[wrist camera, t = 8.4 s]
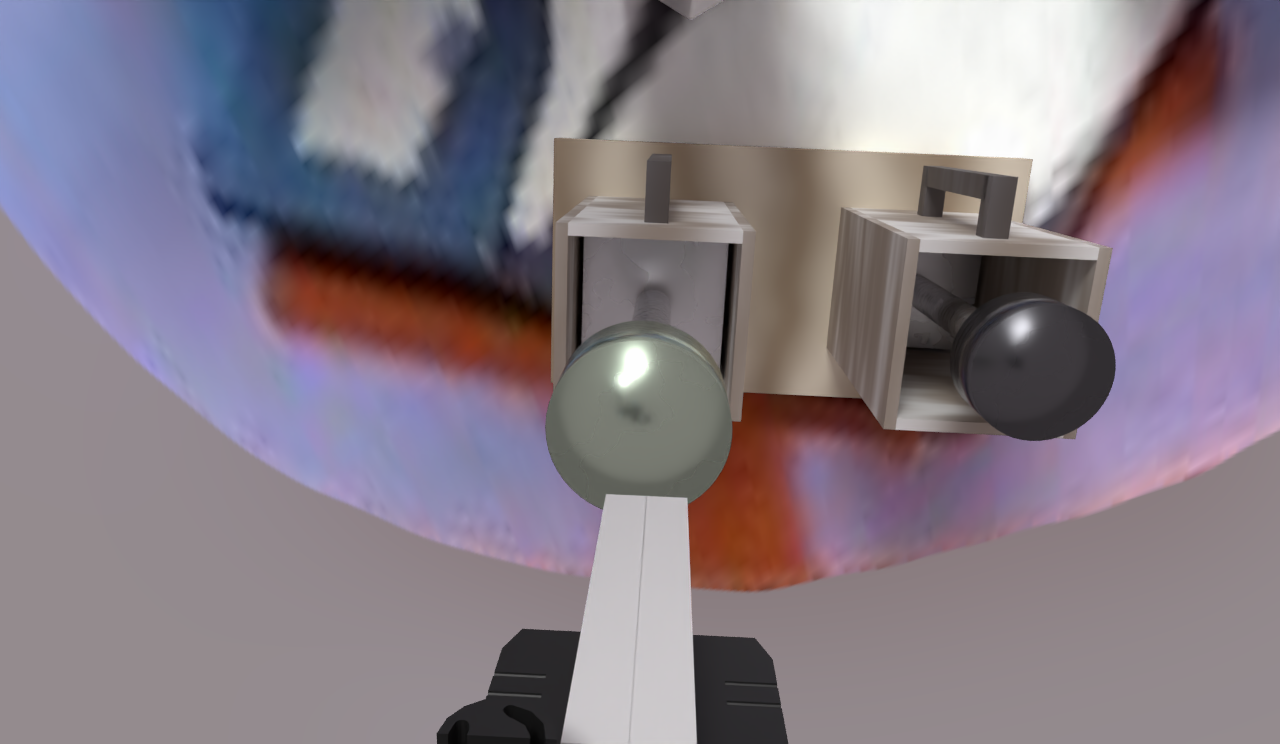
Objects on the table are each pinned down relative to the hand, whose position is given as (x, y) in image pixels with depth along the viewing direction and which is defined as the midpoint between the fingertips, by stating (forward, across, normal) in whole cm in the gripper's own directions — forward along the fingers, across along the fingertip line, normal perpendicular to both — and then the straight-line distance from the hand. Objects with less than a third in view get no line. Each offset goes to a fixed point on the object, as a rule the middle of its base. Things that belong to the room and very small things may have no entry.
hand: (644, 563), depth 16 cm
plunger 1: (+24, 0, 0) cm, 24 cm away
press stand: (+36, +7, 0) cm, 37 cm away
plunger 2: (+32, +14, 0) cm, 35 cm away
